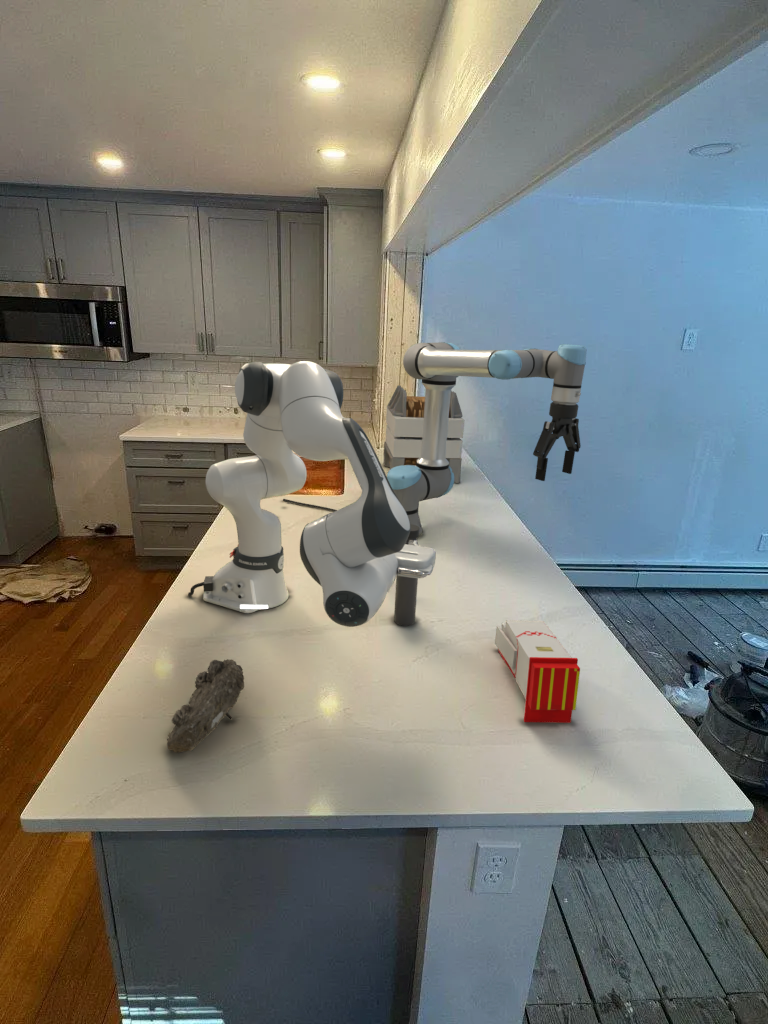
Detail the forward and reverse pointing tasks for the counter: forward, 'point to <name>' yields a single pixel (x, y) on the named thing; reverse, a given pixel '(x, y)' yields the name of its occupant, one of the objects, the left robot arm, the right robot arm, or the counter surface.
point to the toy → (540, 670)
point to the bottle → (405, 599)
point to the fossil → (206, 705)
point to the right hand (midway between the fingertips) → (553, 476)
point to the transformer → (419, 431)
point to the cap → (414, 532)
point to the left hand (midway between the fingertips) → (390, 540)
